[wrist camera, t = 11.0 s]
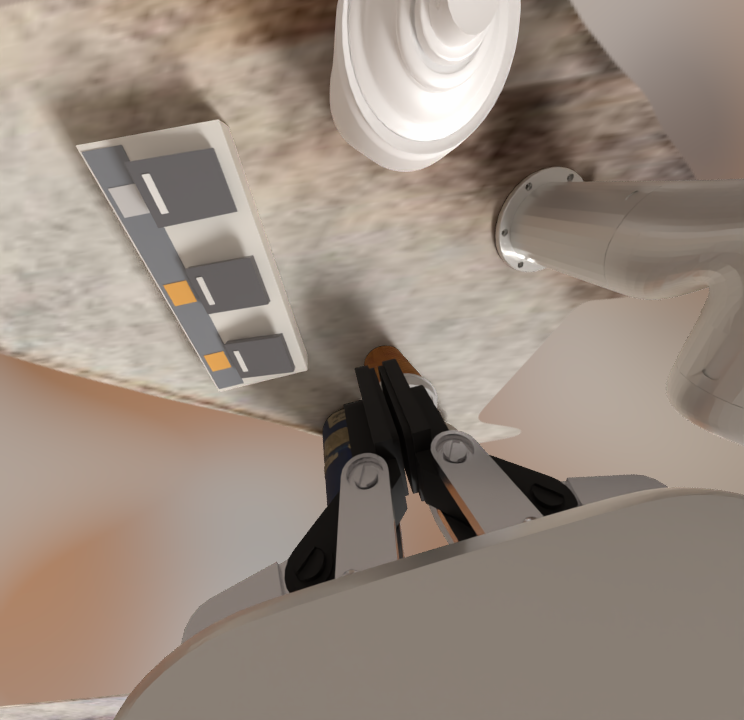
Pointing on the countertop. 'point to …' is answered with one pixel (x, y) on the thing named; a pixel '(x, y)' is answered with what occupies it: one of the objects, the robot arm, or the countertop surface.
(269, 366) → the rocker
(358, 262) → the countertop surface
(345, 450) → the canister
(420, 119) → the white bottle
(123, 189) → the switch unit
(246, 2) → the countertop surface
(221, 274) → the rocker middle
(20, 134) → the countertop surface
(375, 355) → the disposable coffee cup
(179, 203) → the plate
